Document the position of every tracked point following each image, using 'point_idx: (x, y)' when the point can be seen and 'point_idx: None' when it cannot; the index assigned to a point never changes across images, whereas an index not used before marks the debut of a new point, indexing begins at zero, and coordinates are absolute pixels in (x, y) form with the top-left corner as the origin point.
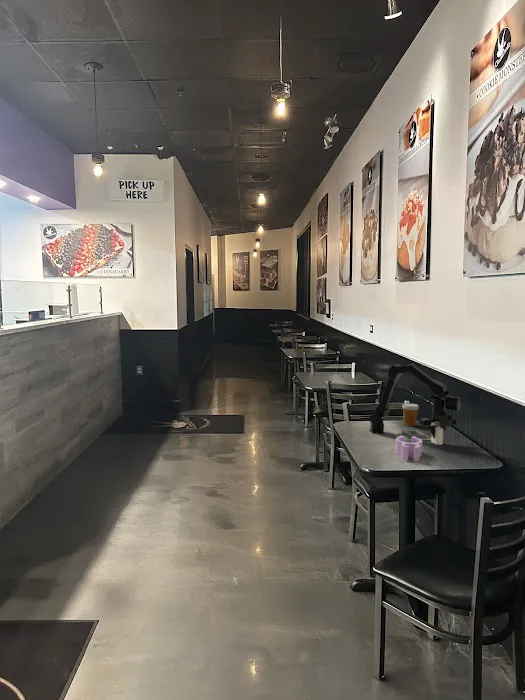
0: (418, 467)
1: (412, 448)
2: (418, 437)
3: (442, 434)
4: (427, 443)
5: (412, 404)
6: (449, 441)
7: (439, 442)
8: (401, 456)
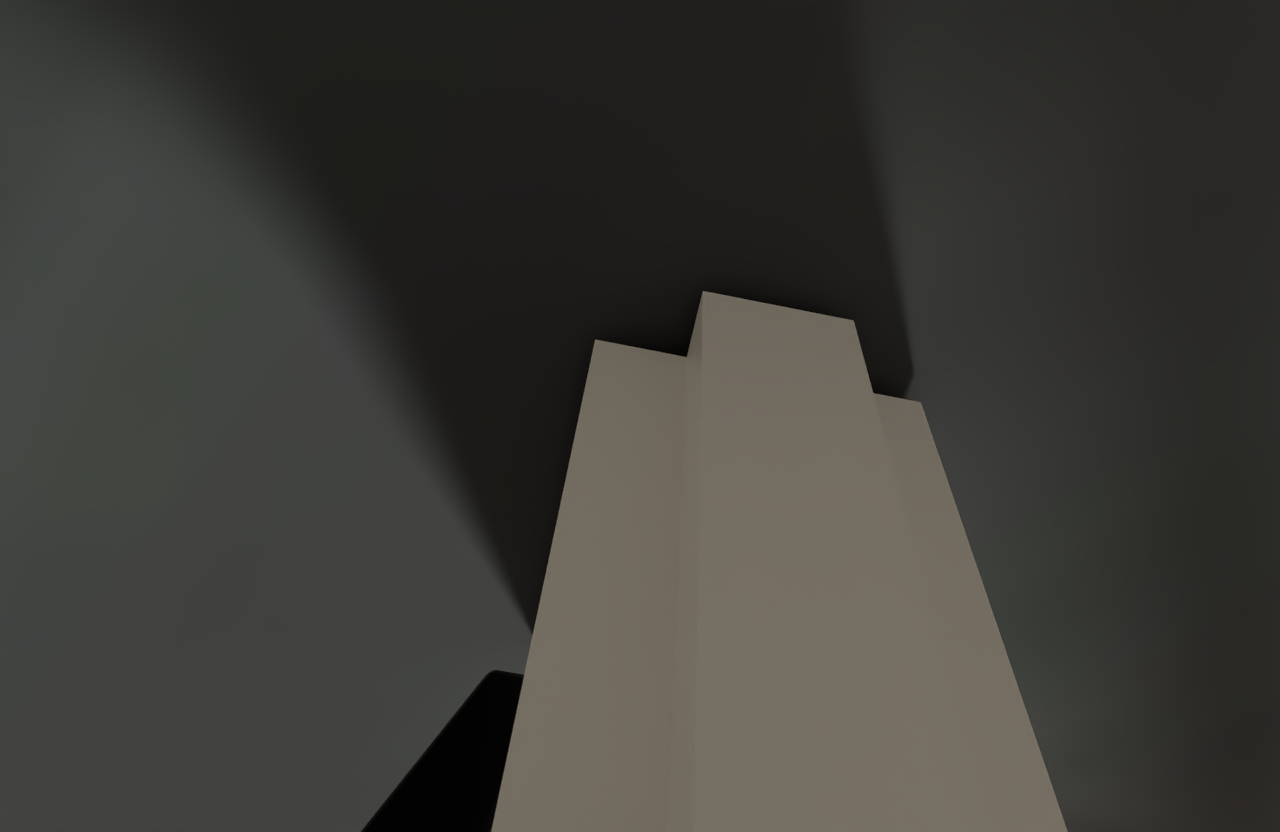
0: None
1: None
2: None
3: (575, 737)
4: (1074, 637)
5: None
6: (40, 548)
7: (837, 375)
8: None
